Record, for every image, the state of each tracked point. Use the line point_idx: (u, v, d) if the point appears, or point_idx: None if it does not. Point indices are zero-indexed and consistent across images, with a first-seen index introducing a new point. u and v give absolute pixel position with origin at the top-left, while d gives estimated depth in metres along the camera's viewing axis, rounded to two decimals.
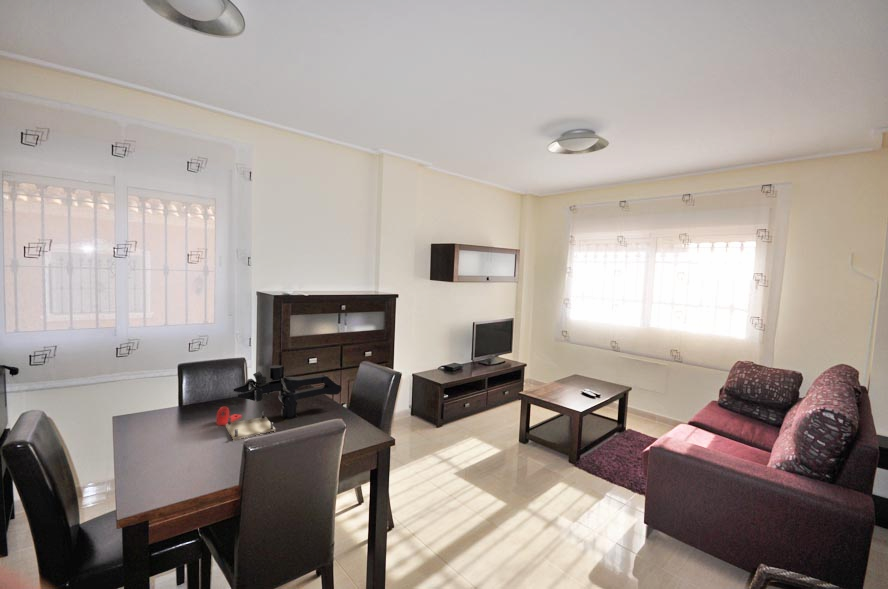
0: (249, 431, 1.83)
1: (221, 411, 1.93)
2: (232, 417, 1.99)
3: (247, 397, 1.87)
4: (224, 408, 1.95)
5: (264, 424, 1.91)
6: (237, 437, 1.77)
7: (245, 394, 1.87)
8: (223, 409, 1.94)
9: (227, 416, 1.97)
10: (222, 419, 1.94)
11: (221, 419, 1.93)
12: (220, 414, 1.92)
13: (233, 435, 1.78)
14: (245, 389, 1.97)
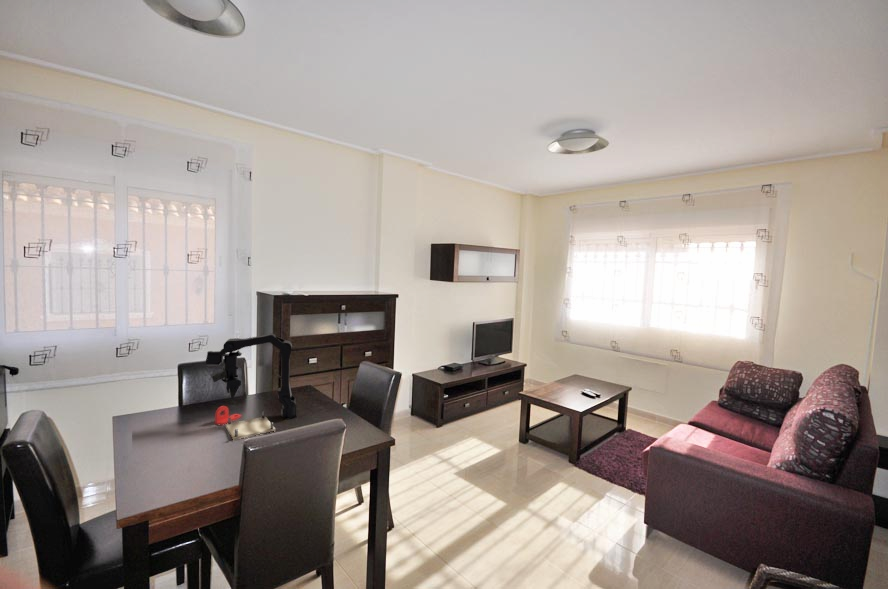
0: (249, 431, 1.83)
1: (220, 410, 1.94)
2: (232, 417, 2.00)
3: (235, 390, 1.92)
4: (223, 407, 1.95)
5: (264, 424, 1.91)
6: (237, 437, 1.77)
7: (231, 392, 1.91)
8: (221, 409, 1.95)
9: (226, 415, 1.98)
10: (221, 418, 1.95)
11: (220, 419, 1.94)
12: (218, 413, 1.93)
13: (233, 435, 1.78)
14: None
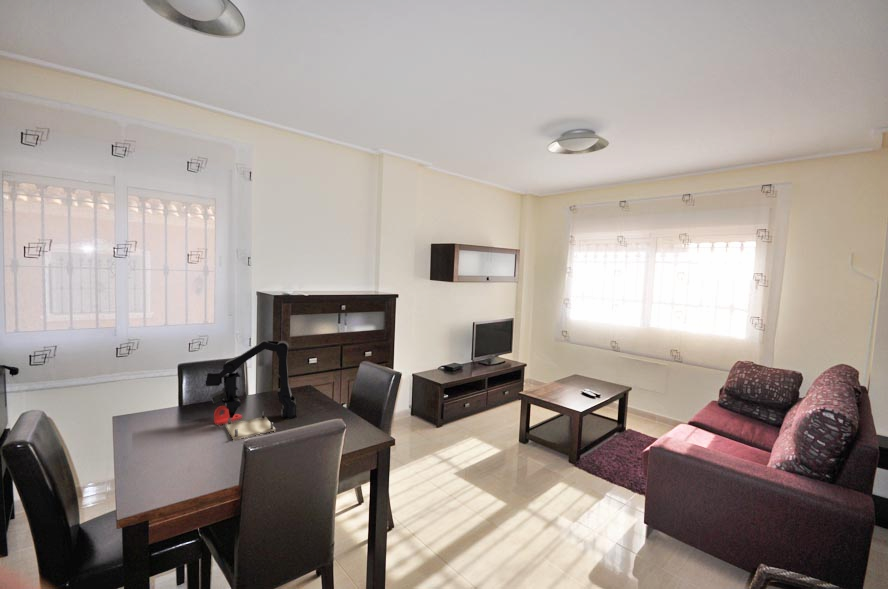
0: (249, 431, 1.83)
1: (219, 410, 1.94)
2: None
3: (234, 410, 1.94)
4: (222, 407, 1.96)
5: (264, 424, 1.91)
6: (237, 437, 1.77)
7: (230, 412, 1.93)
8: (221, 408, 1.95)
9: (226, 415, 1.98)
10: (220, 418, 1.95)
11: (219, 418, 1.94)
12: (217, 413, 1.93)
13: (233, 435, 1.78)
14: None
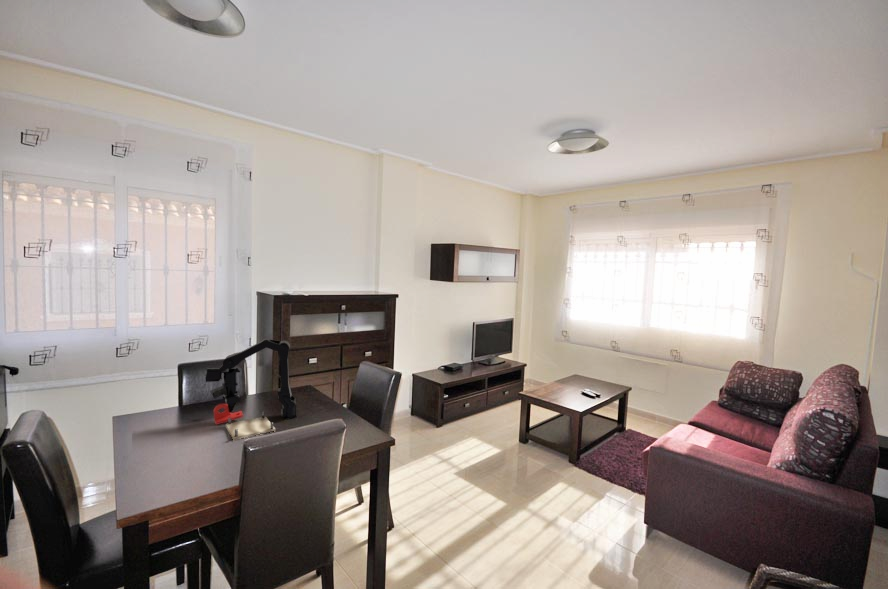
0: (249, 431, 1.83)
1: (217, 408, 1.93)
2: (233, 415, 1.97)
3: (233, 404, 1.96)
4: (221, 406, 1.94)
5: (264, 424, 1.91)
6: (237, 437, 1.77)
7: (230, 406, 1.95)
8: (219, 407, 1.93)
9: (227, 413, 1.96)
10: (220, 415, 1.94)
11: (218, 416, 1.94)
12: (216, 411, 1.93)
13: (233, 435, 1.78)
14: None
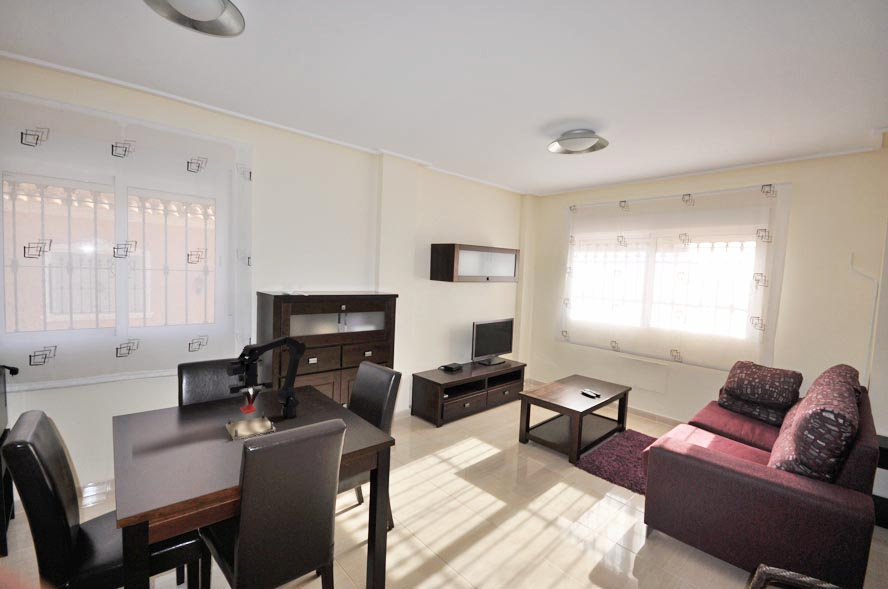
0: (249, 431, 1.83)
1: None
2: (248, 408, 1.86)
3: (246, 397, 1.85)
4: None
5: (264, 424, 1.91)
6: (237, 437, 1.77)
7: (246, 397, 1.87)
8: None
9: None
10: (248, 404, 1.91)
11: (248, 404, 1.92)
12: None
13: (233, 435, 1.78)
14: (253, 393, 1.88)
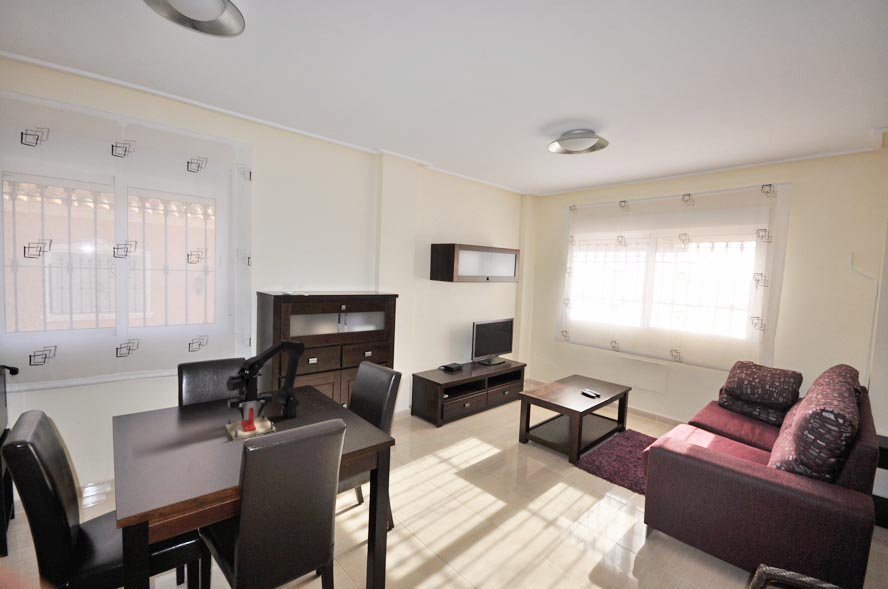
0: (249, 431, 1.83)
1: (249, 410, 1.92)
2: (249, 425, 1.87)
3: (240, 412, 1.84)
4: (250, 409, 1.90)
5: (264, 424, 1.91)
6: (237, 437, 1.77)
7: (240, 413, 1.86)
8: (249, 410, 1.91)
9: (250, 421, 1.89)
10: (249, 419, 1.92)
11: (249, 418, 1.92)
12: (249, 412, 1.93)
13: (233, 435, 1.78)
14: (259, 406, 1.90)
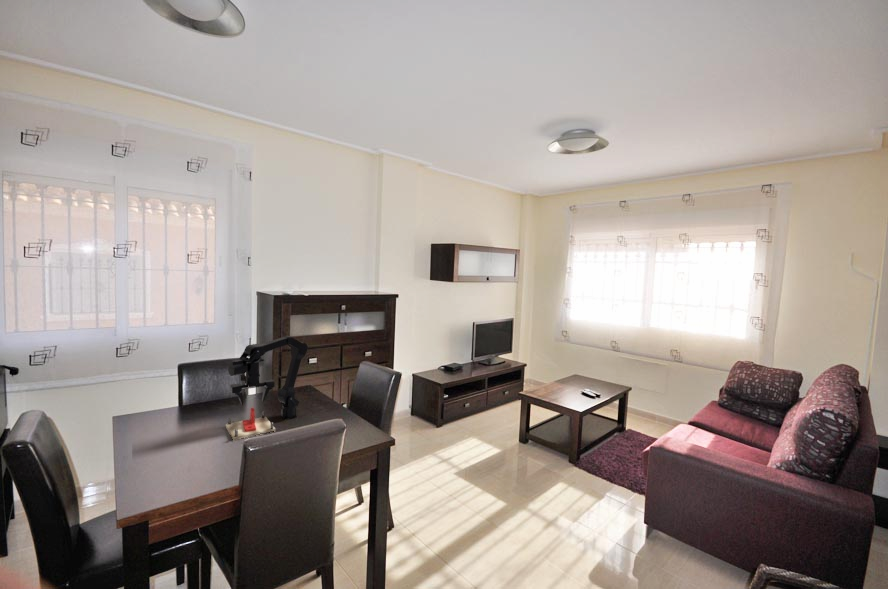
0: (249, 431, 1.83)
1: None
2: (250, 425, 1.87)
3: (239, 398, 1.84)
4: (251, 409, 1.90)
5: (264, 424, 1.91)
6: (237, 437, 1.77)
7: (239, 398, 1.86)
8: (251, 409, 1.91)
9: (251, 421, 1.89)
10: (250, 419, 1.92)
11: (250, 418, 1.92)
12: (250, 412, 1.93)
13: (233, 435, 1.78)
14: (264, 391, 1.91)
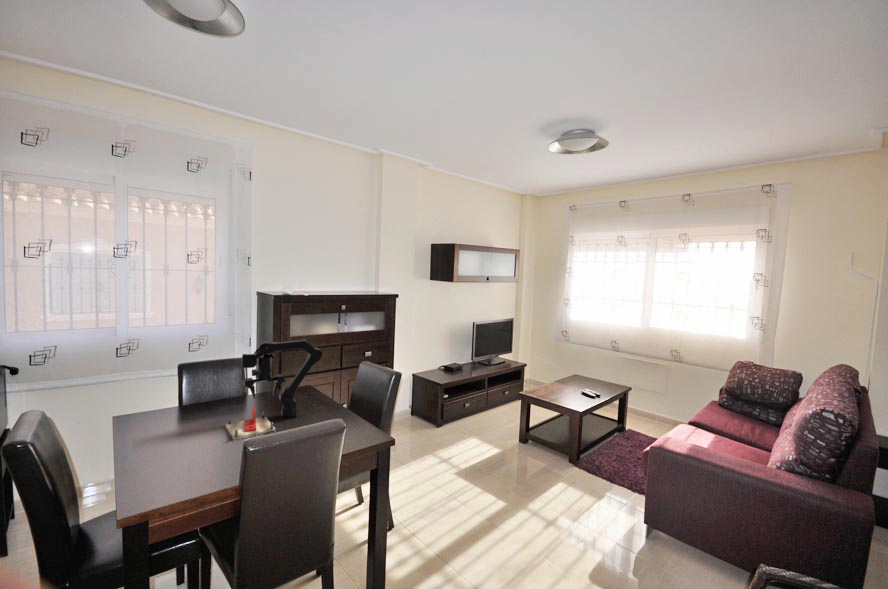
0: None
1: (252, 410, 1.92)
2: (250, 425, 1.87)
3: (251, 391, 1.95)
4: (252, 409, 1.91)
5: (264, 424, 1.91)
6: (237, 437, 1.77)
7: (251, 392, 1.96)
8: (252, 409, 1.91)
9: (252, 421, 1.89)
10: (252, 419, 1.92)
11: (252, 418, 1.92)
12: (252, 412, 1.93)
13: (233, 435, 1.78)
14: (274, 385, 2.02)
